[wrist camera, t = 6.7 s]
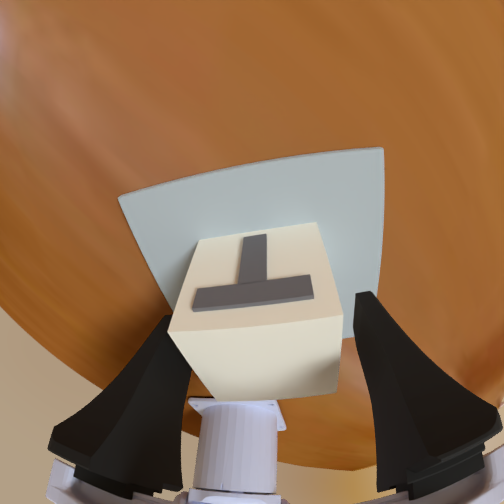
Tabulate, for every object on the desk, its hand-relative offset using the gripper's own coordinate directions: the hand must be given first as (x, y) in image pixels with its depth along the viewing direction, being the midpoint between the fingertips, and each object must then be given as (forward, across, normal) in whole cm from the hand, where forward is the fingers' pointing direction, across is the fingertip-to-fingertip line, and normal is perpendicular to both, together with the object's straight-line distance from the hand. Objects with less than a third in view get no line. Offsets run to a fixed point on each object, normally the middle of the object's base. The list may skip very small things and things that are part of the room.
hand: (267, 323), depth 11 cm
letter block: (+3, 0, 0) cm, 3 cm away
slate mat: (+3, 0, 0) cm, 3 cm away
